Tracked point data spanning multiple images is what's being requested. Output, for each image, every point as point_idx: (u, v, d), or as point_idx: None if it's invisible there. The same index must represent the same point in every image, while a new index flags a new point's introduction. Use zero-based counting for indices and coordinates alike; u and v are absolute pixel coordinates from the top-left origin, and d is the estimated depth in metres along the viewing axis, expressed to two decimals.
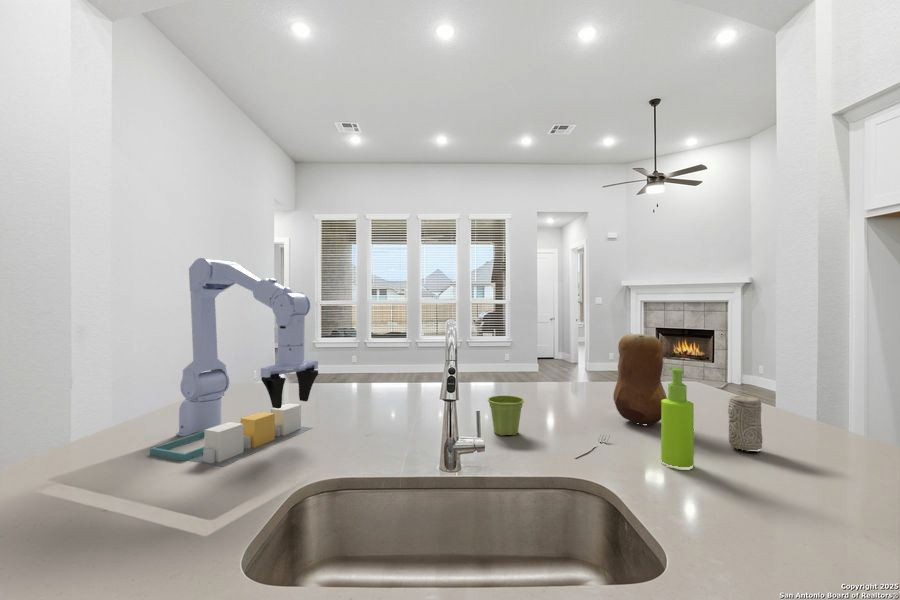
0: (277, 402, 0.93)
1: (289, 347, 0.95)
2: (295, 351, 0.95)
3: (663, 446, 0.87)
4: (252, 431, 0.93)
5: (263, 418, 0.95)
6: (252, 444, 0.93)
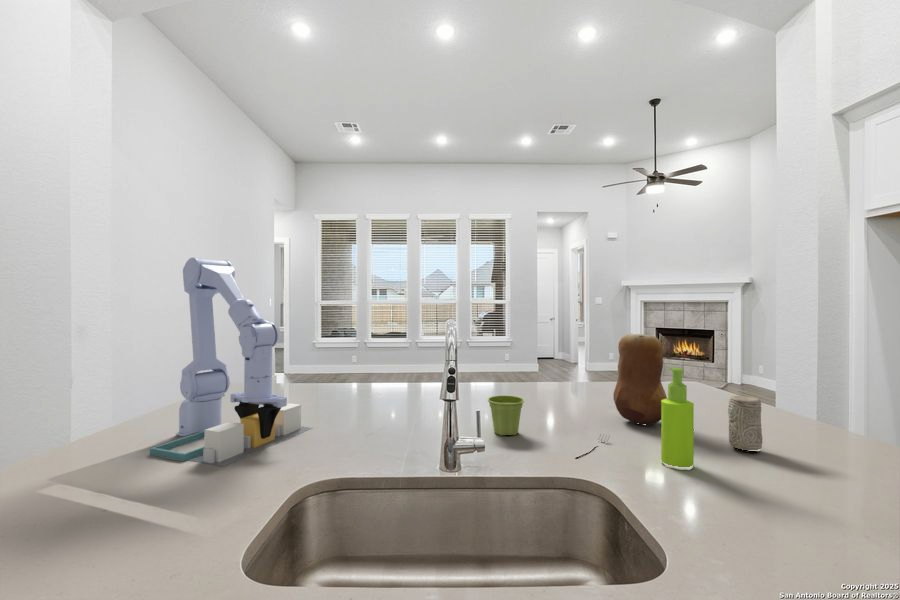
0: None
1: (244, 378, 0.95)
2: (245, 383, 0.94)
3: (663, 446, 0.87)
4: (252, 431, 0.93)
5: None
6: (252, 444, 0.93)
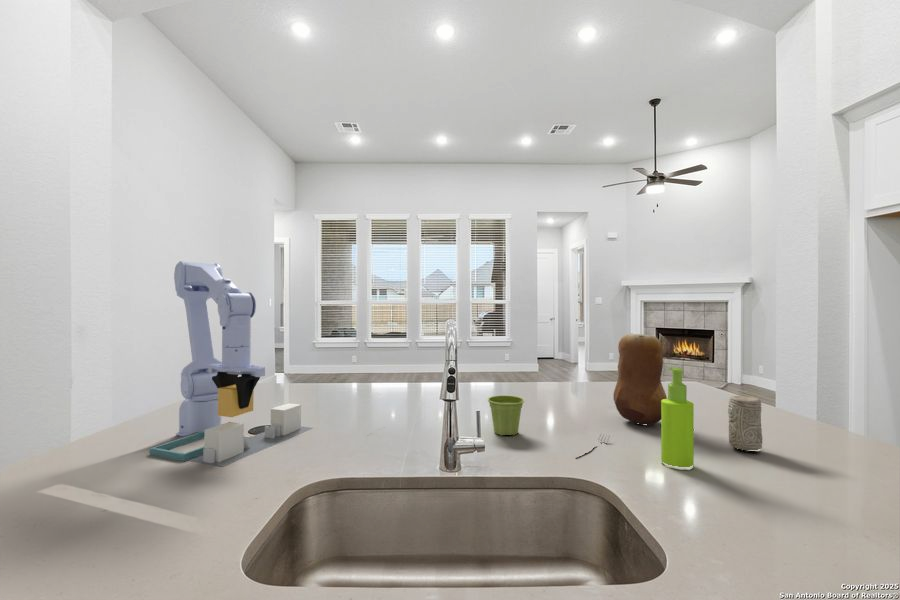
0: None
1: (222, 347, 0.94)
2: (222, 352, 0.93)
3: (663, 446, 0.87)
4: (229, 401, 0.92)
5: None
6: (229, 414, 0.92)
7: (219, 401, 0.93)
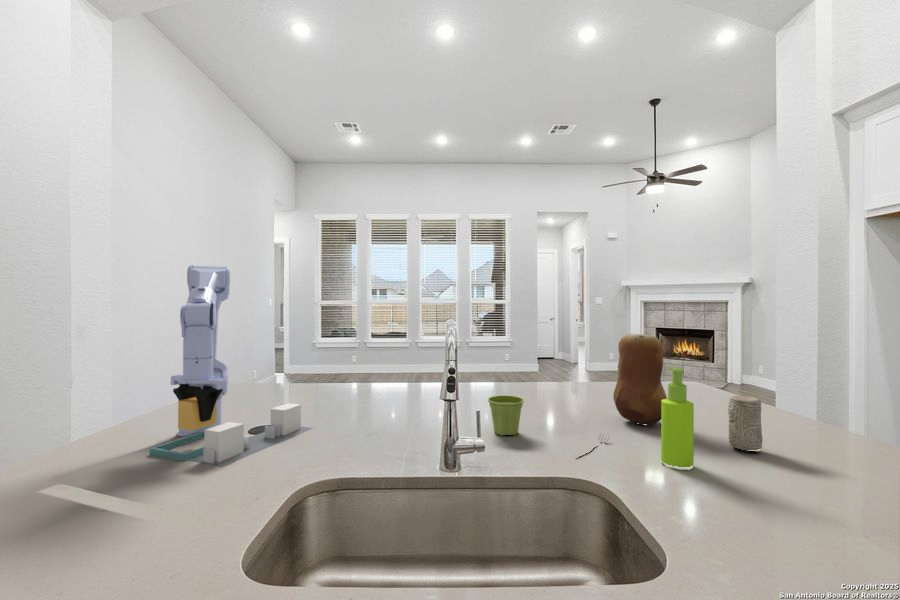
0: None
1: (183, 359, 0.92)
2: (183, 364, 0.91)
3: (663, 446, 0.87)
4: (189, 414, 0.90)
5: None
6: (189, 427, 0.90)
7: (179, 414, 0.91)
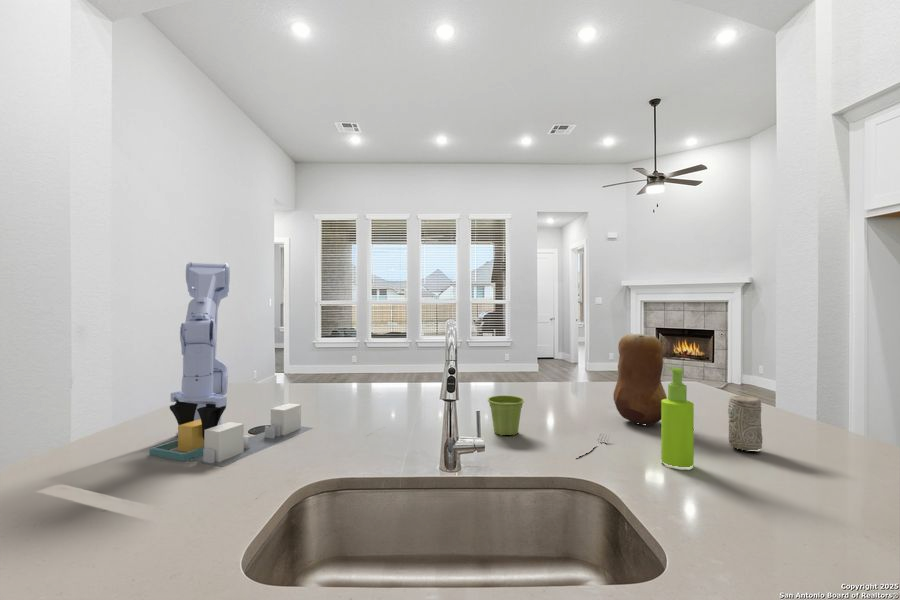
0: None
1: (183, 376, 0.92)
2: (183, 382, 0.91)
3: (663, 446, 0.87)
4: (189, 439, 0.90)
5: None
6: None
7: (179, 439, 0.91)
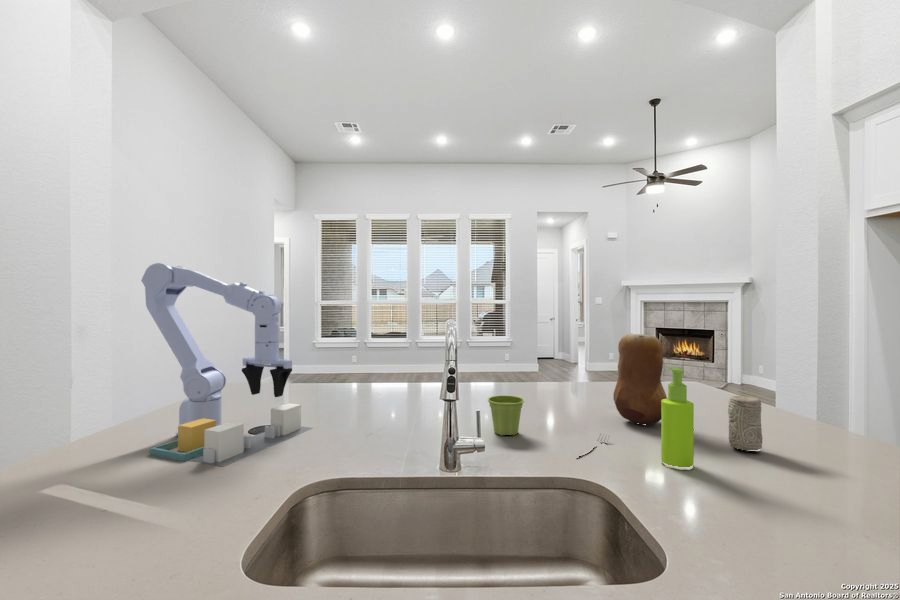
0: None
1: (255, 343, 1.07)
2: (255, 347, 1.06)
3: (663, 446, 0.87)
4: (189, 439, 0.90)
5: (202, 425, 0.92)
6: None
7: (179, 439, 0.91)
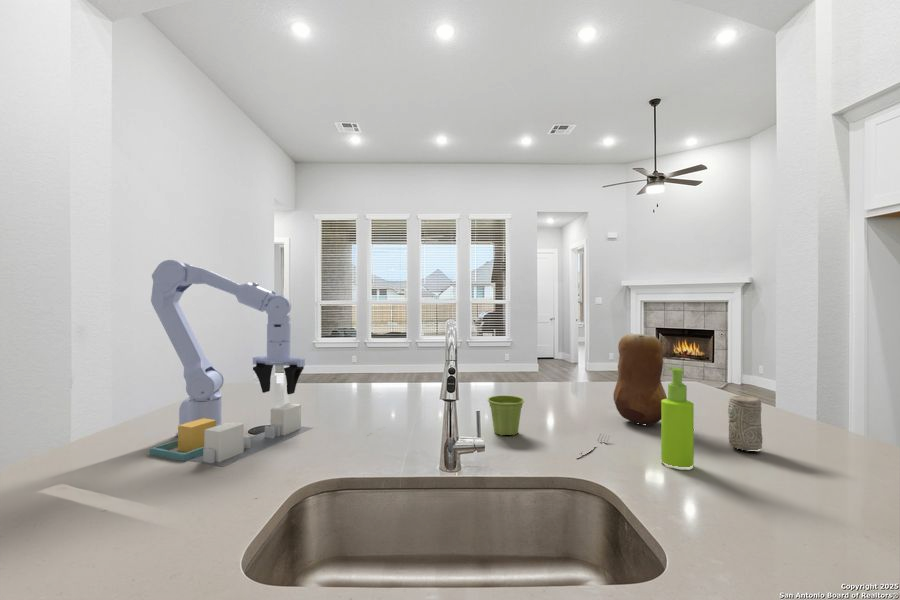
0: None
1: (267, 342, 1.10)
2: (268, 346, 1.09)
3: (663, 446, 0.87)
4: (189, 439, 0.90)
5: (202, 425, 0.92)
6: None
7: (179, 439, 0.91)
